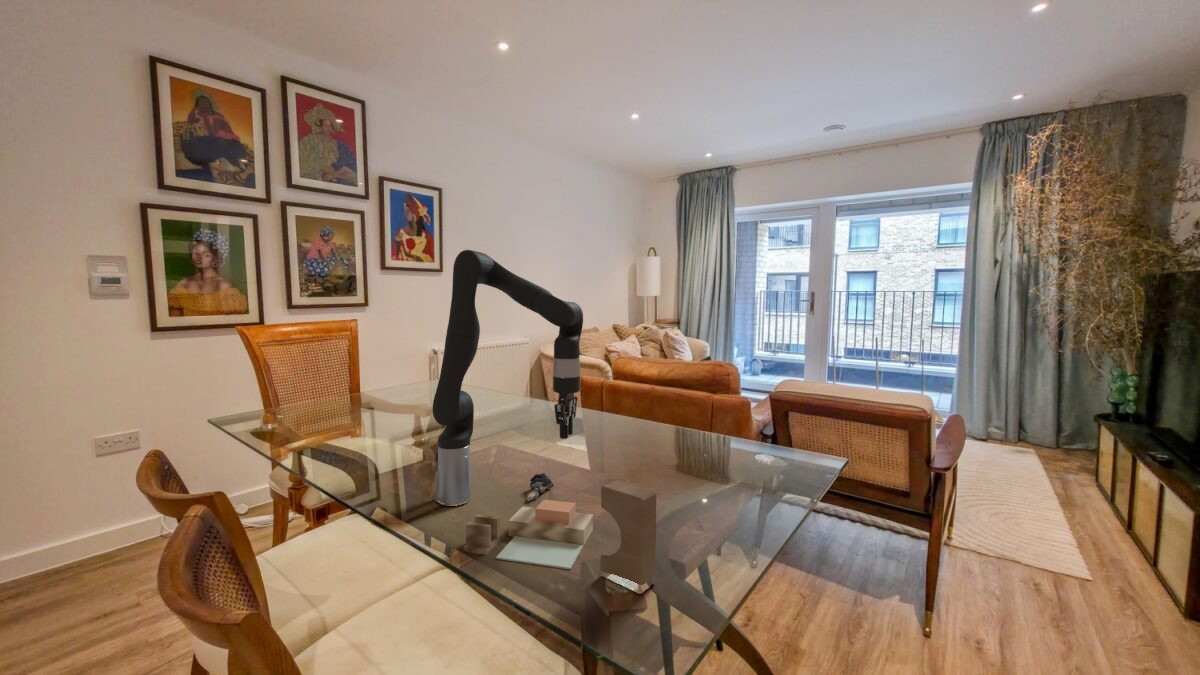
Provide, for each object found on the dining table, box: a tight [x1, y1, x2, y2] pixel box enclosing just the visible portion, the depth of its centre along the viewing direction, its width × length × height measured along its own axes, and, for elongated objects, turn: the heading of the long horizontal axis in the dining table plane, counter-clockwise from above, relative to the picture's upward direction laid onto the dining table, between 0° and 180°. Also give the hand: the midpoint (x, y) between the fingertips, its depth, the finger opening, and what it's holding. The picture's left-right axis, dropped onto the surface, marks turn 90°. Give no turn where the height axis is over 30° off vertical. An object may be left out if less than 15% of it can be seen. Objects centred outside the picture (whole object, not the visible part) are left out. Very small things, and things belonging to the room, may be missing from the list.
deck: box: [508, 506, 594, 547], centre depth 120 cm, size 20×9×4 cm, turn 76°
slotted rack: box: [463, 513, 503, 556], centre depth 113 cm, size 6×8×6 cm
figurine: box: [525, 473, 554, 502], centre depth 147 cm, size 7×6×15 cm
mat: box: [495, 536, 584, 570], centre depth 110 cm, size 18×10×1 cm, turn 76°
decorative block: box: [599, 479, 657, 585], centre depth 99 cm, size 11×6×20 cm, turn 49°
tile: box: [534, 499, 577, 524], centre depth 120 cm, size 9×6×3 cm, turn 76°
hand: (566, 436), depth 128 cm, fingers open, 3 cm apart
